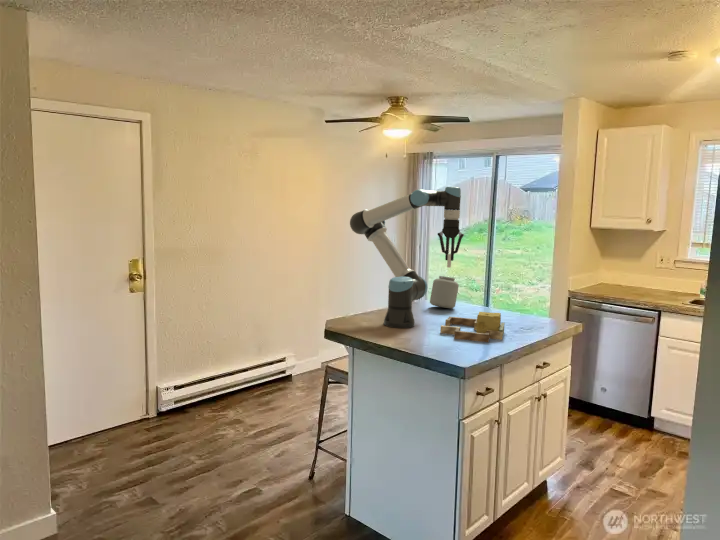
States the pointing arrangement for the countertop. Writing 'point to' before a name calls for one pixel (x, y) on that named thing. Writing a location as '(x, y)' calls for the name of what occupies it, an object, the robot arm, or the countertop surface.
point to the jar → (444, 292)
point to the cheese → (488, 322)
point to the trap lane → (469, 335)
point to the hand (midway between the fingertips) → (449, 267)
